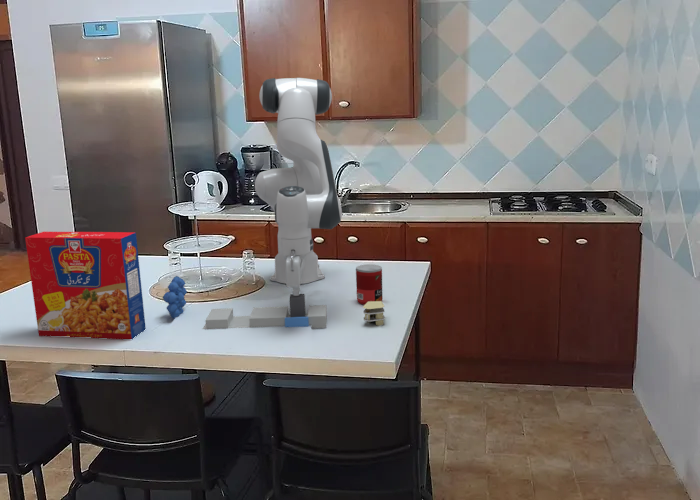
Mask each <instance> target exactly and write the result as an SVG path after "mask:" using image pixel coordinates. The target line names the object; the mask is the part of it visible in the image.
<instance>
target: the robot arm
mask: <svg viewBox="0 0 700 500" xmlns="http://www.w3.org/2000/svg"><path fill="white" fill-rule="evenodd" d="M332 93H333V92H332V90H331V87H330V84H329V83H328V81H326V80H322V79H314V78H313V79H312V78H305V77H294V78H293V77H291V78H290V77H286V78H283V77H282V78H275V77H274V78H273V77H272V78H268V79H265V80H264V81H263V82H262V85H261V87H260V90H259V93H258V94H259V96H258V97H259V102H260V104H261V106H262V109H263V110H264V111H265V112H267V113H271V114H274V115H275V114H276V113H277V121H276V124H277V125H276V149H277V152H278V154H280V155H281V156H282V157H284V159H285V158H286V159H287V160H290V161H292V163H293V165H292V166H291V167H280V168H271V169H270V168H269V169H267V170H264V171H261V172H259V173H257V176H256V178H255V180H254V190H255V193H256V195H257V196H258V197H259V198H260V200H262V201H264V202H265V203H266V204H267V205H269V206H270V207H271V210H272V211H273V213H274V222H275V223H276V224H277V225H278V226H277V228H278V232H277V251H278V253H277V254H276V255H275V257H274V273H273V274H272V275H270V279H269V280H270V281H272V282H278V283H280V284H286V287H287V288H289V289H292V294H293V295H294V296H298V295H299V294H301V293H300V292H301V284H302V285H303V284H308V283H313V282H316V281H318V280H324V279H325V275H324V273H323V272H322V270H321V269H320V264H319V259H318V258H319V257H318V256H319V255H317V253H316V252H314V239H313V238H312V229H320V230H333V229H334V228H336V227H337V226H338V224H340V223H341V221H342V216H343V210H342V205H341V201H340V199H339V197H338V193H337V188H336V181H335V176H334V171H333V170H334V169H333V165H332V160H331V157H330V153H329V148H328V144H327V142H326V141H324V140H323V139H320V137H319V135H318V132H317V127H316V116H317V115H321V114H325V113H326V112H328V111H329V110H330V106H331V104H332V100H333V94H332Z"/></svg>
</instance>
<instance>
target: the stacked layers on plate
mask: <svg viewBox="0 0 700 500" xmlns="http://www.w3.org/2000/svg"><path fill="white" fill-rule="evenodd" d="M362 306H363V314H364V317H363V321H365V322H369V323H371V322H375V326H383V325H384V320H385V319H386V317H385V315H384V313H385V311H386V310H385V308H384V307H385V304H384V303H383V300H382V301H370V302H367V303H366V304H365V305H362Z"/></svg>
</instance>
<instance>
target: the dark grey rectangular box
mask: <svg viewBox="0 0 700 500" xmlns="http://www.w3.org/2000/svg"><path fill="white" fill-rule="evenodd" d="M305 296H306V295H305V293H299V295H298V296H294V295H293V293H290V295H289V315H290V317H306V314H307V313H306V297H305Z"/></svg>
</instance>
